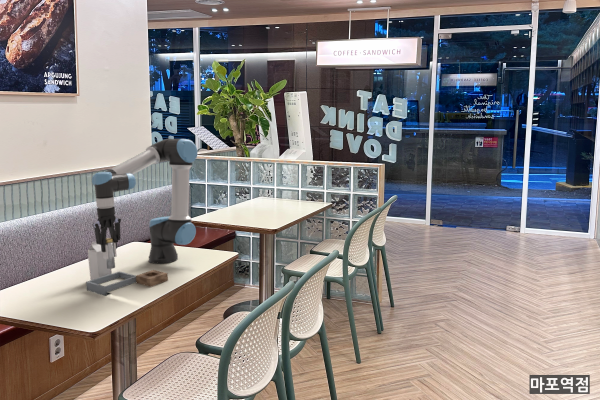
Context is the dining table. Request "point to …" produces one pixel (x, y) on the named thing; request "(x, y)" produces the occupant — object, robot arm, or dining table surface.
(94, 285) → the tray
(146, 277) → the block
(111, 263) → the small bottle
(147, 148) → the robot arm
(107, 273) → the milk carton
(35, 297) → the dining table surface
